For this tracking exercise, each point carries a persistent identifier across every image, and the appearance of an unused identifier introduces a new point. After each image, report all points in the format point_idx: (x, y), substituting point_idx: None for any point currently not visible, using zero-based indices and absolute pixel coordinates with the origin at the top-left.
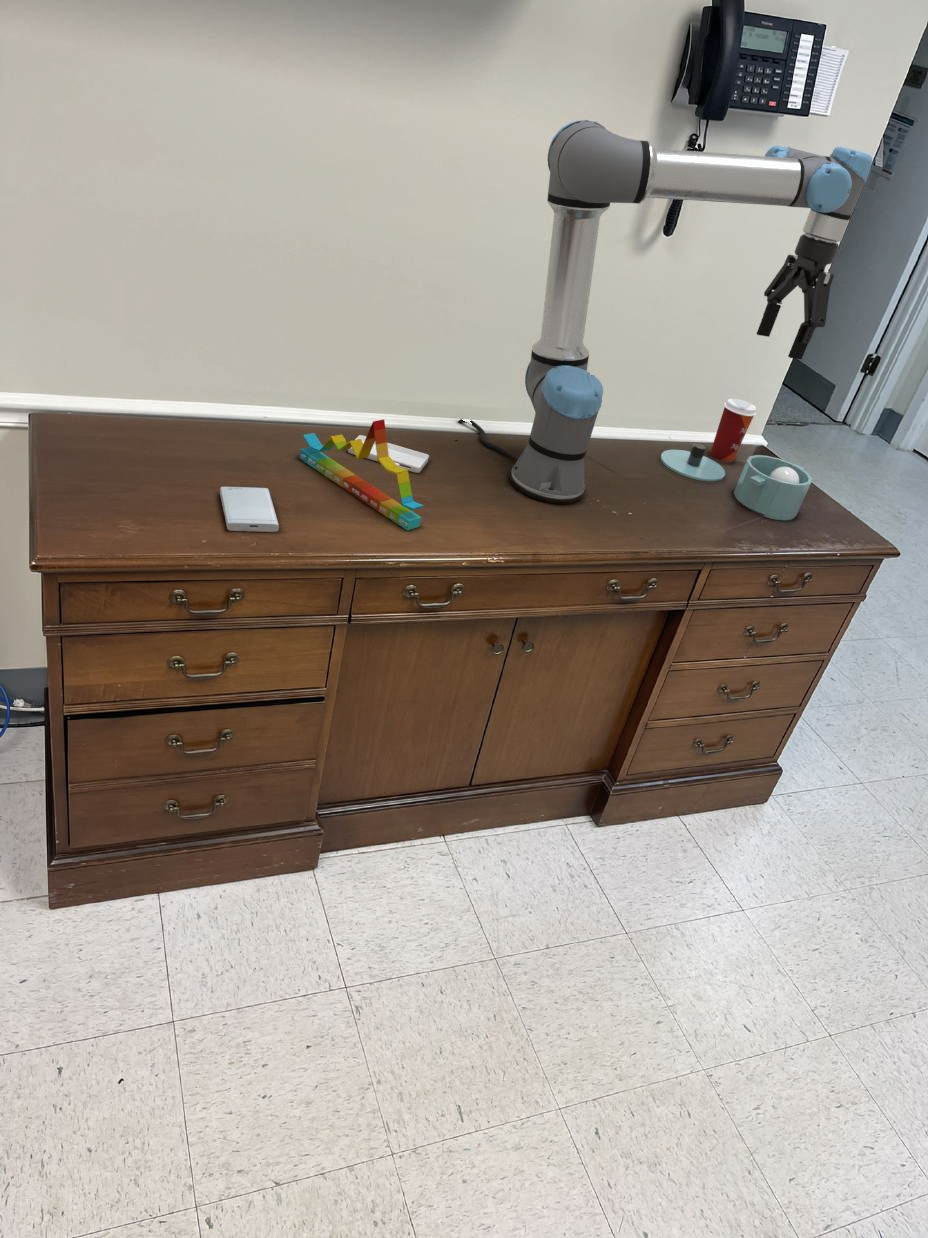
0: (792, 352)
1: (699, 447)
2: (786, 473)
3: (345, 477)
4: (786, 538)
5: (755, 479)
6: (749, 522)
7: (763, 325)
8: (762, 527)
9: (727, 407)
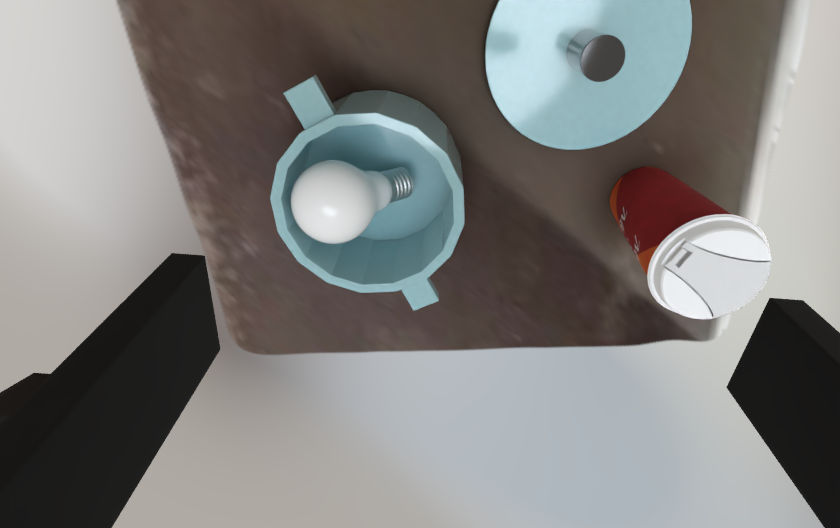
0: (146, 281)
1: (591, 50)
2: (306, 198)
3: None
4: (204, 126)
5: (298, 88)
6: (266, 60)
7: (818, 372)
8: (247, 87)
9: (720, 217)
